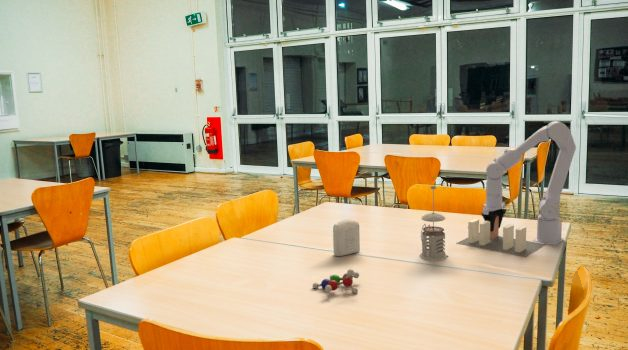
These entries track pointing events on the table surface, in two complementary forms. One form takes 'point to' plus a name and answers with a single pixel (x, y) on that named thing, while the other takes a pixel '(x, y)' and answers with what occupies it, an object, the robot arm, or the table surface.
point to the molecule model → (335, 281)
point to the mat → (497, 246)
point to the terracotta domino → (495, 229)
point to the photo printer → (346, 237)
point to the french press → (433, 237)
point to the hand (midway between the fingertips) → (493, 229)
